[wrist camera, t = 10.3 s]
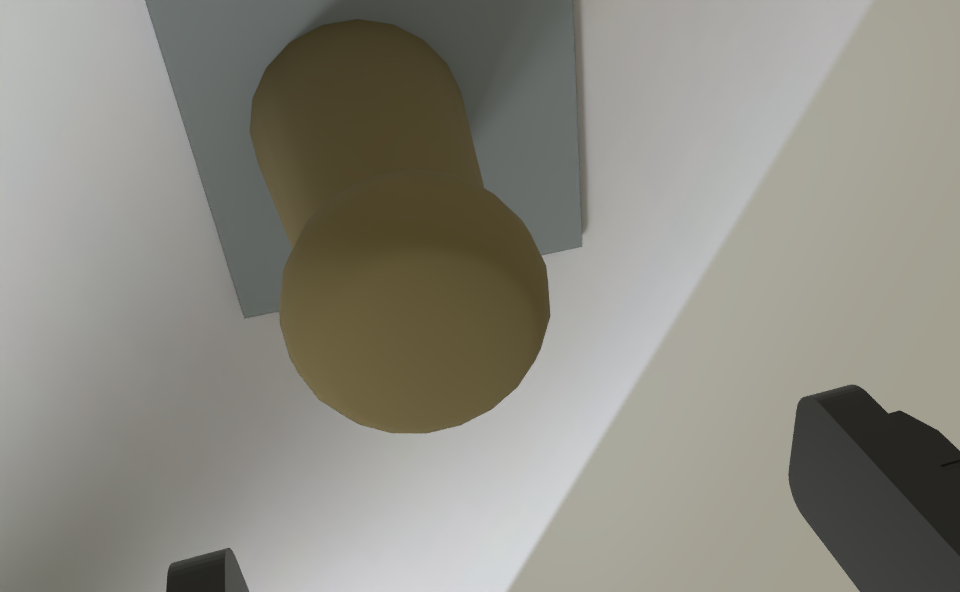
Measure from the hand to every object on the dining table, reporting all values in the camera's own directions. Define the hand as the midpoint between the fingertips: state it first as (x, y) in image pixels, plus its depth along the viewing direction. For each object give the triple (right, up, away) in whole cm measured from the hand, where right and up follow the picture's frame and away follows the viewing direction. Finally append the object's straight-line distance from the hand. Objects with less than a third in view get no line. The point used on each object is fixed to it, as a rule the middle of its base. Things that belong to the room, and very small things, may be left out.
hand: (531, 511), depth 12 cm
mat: (-3, +8, +13) cm, 16 cm away
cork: (-4, +8, +13) cm, 15 cm away
